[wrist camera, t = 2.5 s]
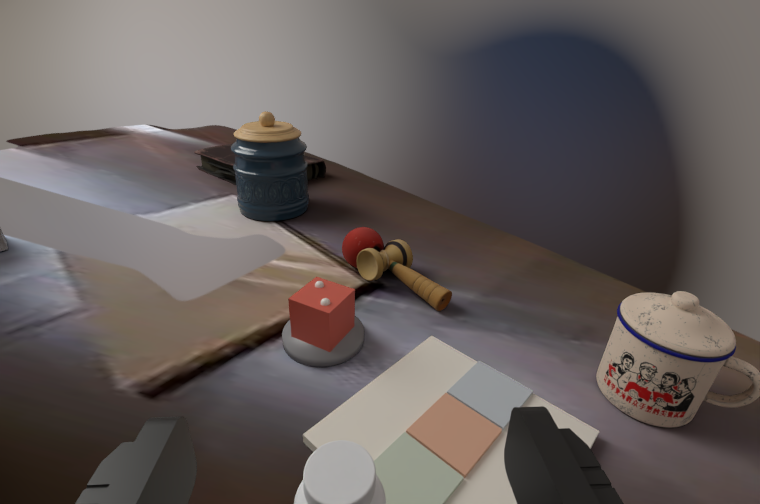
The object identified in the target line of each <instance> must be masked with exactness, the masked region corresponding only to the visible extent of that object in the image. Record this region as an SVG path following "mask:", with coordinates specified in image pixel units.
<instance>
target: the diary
mask: <svg viewBox="0 0 760 504" xmlns="http://www.w3.org/2000/svg"><path fill="white" fill-rule="evenodd" d="M231 146H232V144H227V145H221V146H215V147H210V148H206V149H201V150H198V151H195V152H194V153H195V154H198V155H201V160H202V166H196V167H197V168H198V169H199V170H201V171H204V172H206V173H208V174H210V175H213V176H215V177H218V178H220V179H223V180H226V181H228V182H230V183H232V184H234V185H236V178H235V170H234V169H233V165H234V163H235V154H234V153H233V152H232V151H231ZM304 159H305V161H306V162H307V180H310V179H312V178H315V179H317V178H316V176H317V175H318V176H321V177H325V173H326V166H325V163H324V161H323V160H320V159H316V158H312V157H308V156H304Z"/></svg>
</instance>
